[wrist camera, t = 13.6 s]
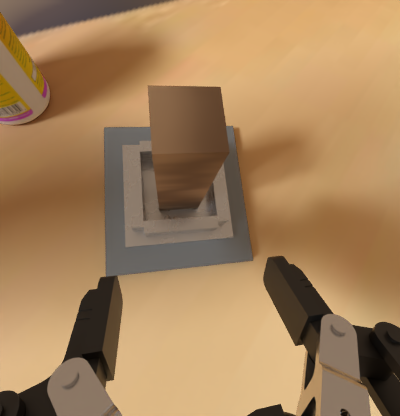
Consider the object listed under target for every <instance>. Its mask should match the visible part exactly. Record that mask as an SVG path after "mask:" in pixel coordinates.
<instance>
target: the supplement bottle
mask: <svg viewBox="0 0 400 416" xmlns="http://www.w3.org/2000/svg"><path fill="white" fill-rule="evenodd" d="M49 100H50V90H49V86H48V84H47V82H46V80H45V78H44V77H43V75H42V74H41V72H40V71H39V69H38V67H37V66H36V64H35V63H34V62H33V60H32V59H31V57H30V56H29V54H28V53H27V51H26V50H25V48H24V47H23V45H22V44H21V42H20V41H19V39H18V38H17V36H16V35H15V33H14V32H13V30H12V29H11V27H10V26H9V24H8V23H7V21H6V20H5V18H4V17H3V15H2V14H1V12H0V123H1V124H6V125H18V124H23V123H26V122H29V121H32V120H33V119H35V118H37V117H38V116H39V115H40V114H42V112H43V111H44V110H45V109H46V107H47V105H48V103H49Z"/></svg>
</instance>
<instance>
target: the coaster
mask: <svg viewBox="0 0 400 416" xmlns="http://www.w3.org/2000/svg"><path fill="white" fill-rule="evenodd" d="M226 130H227V137H228V144H229V151H230V152H229V154H228V156H227V158H226V159H225V161H224V171H225V178H226V185H227V193H228V200H229V208H230V215H231V222H232V230H233V238H226V239H215V240H205V241H194V242H183V243H172V244H161V245H151V246H140V247H129V248H126V246H125V214H124V182H123V150H122V145H140V142H139V141H151V130H150V127H107V128H104V160H105V242H106V277H107V276H118V275H127V274H136V273H145V272H154V271H163V270H172V269H181V268H190V267H199V266H208V265H217V264H226V263H235V262H244V261H253V256H252V250H251V243H250V236H249V230H248V223H247V217H246V210H245V203H244V197H243V190H242V184H241V177H240V170H239V164H238V157H237V151H236V144H235V137H234V131H233V126H226Z"/></svg>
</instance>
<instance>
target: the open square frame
mask: <svg viewBox="0 0 400 416" xmlns="http://www.w3.org/2000/svg"><path fill="white" fill-rule="evenodd" d="M139 142H140V145H122V150H123V182H124V214H125V246H126V248H129V247H140V246H151V245H161V244H172V243H183V242H194V241H205V240H215V239H226V238H233V230H232V222H231V215H230V208H229V200H228V193H227V185H226V178H225V171H224V163H223V165H222V166H221V168H220V170H219V172H218V174H217V175H216V177H215V179H214V181H213V182H212V184H211V186H210V188H209V189H208V191H207V193H206V195H205V197H204V198H203V200H202V202H201V204H200V205H199V207H198V208H193V209H178V210H163V211H159V204H158V196H157V189H156V181H155V174H154V166H153V159H152V147H151V141H139Z"/></svg>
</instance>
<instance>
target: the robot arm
mask: <svg viewBox="0 0 400 416" xmlns="http://www.w3.org/2000/svg"><path fill="white" fill-rule="evenodd" d="M263 280H264V285H265V288H266V290H267V291H268V293H269V295H270V297H271V299H272V301H273V303H274V305H275V307H276V309H277V311H278V313H279V315H280V317H281V319H282V321H283V322H284V324H285V326H286V328H287V330H288V332H289V334H290V336H291V338H292V340H293V342H294V344H295V346H298V345H303V344H304V346H305V348H306V353H305V361H304V371H303V380H302V389H301V395H300V399H299V402H298V406H297V412H296V415H294V414H290V413H287V412H283V409H282V407H281V404H279V405H274V406H270V407H266V408H261V409H257V410H255V411H254V412H252V413H251V414H249V415H248V416H371V414H370V404H369V395H370V397H371V398H372V400H373V401H374V403H375V405H376V406H377V408H378V410H379V411H380V413H381V414H382V416H400V328H399V327H397V326H395V325H393V324H391V323H387V322H379V323H377V324H376V325H375V327H374V328H367V327H361V326H355V325H351V324H350V323H349V322H348V321H347V320H346V319H344V318H343V317H341V316H338V315H335V314H333V312H332V311H331V310H330V308H329V307H328V306H327V304H326V303H325V302H324V300H323V299H322V298H321V296H320V295H319V293H318V292H317V291H316V289H315V288H314V287H313V286H312V284H311V283H310V281H309V280H308V278H307V277H306V276H305V274H304V273H303V272H302V270H300V269H299V268H298V267H296V266H295V265H294V264H290V265H289V263H288V262H287V260H286V259H285V258H284V257H283V256H275V257H269V258H268V259H267V263H266V268H265V272H264V277H263ZM122 305H123V301H122V293H121V289H120V285H119V281H118V277H117V276H107V277H101V278H100V280H99V283H98V287H97V289H93V290H89V291H88V292H87V294H86V295H85V296H84V298H83V299H82V301H81V304H80V307H79V313H78V314H77V318H76V322H75V324H74V328H73V331H72V334H71V338H70V341H69V345H68V348H67V351H66V355H65V357H64V360H63V362H62V364H61V365H60V366H59V367H58V368H57V369H56V370H55V371H54V373H53V374H52V375H51V376H50V377H49V378H47V379H46V380H45V381H43V382H41V383H39V384H37V385H35V386H33V387H31V388H29V389H27V390H25V391H23V392H21V393H19V394H17V393H15V392H14V391H2V392H0V416H122V414H121V413H120V411H119V410H118V408H117V407H116V406H115V405H114V403H113V402H112V400H111V399H110V397H109V395H108V394H107V392H106V391H105V387H106V381H110V380H114V374H115V365H116V357H117V348H118V340H119V332H120V323H121V315H122ZM395 375H396V376H397V377H396V376H395ZM398 379H399V380H398ZM361 382H362V383H361ZM368 393H369V394H368Z"/></svg>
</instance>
